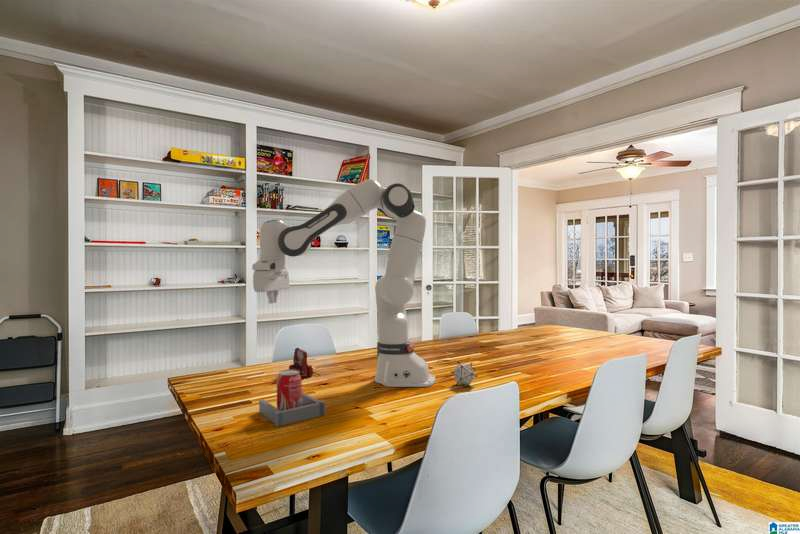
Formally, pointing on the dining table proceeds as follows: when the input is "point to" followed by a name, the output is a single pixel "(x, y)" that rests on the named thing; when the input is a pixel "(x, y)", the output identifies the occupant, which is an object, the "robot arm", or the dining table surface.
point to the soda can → (289, 390)
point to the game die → (464, 374)
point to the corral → (293, 411)
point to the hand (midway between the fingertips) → (272, 303)
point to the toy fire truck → (301, 363)
